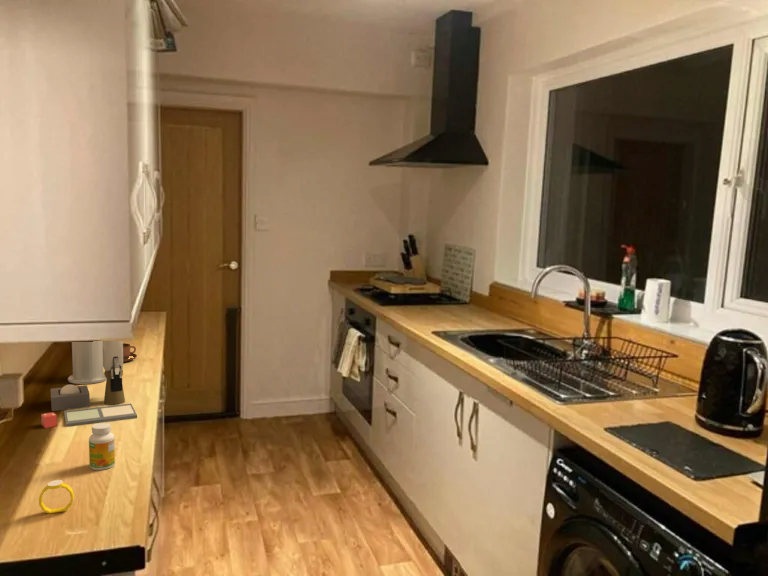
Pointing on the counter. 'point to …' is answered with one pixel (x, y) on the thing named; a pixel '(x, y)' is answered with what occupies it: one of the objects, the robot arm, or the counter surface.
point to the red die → (49, 420)
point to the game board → (99, 414)
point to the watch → (55, 485)
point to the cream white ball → (69, 389)
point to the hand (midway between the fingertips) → (114, 387)
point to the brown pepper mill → (112, 397)
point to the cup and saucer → (128, 352)
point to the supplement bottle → (101, 447)
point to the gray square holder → (70, 399)
